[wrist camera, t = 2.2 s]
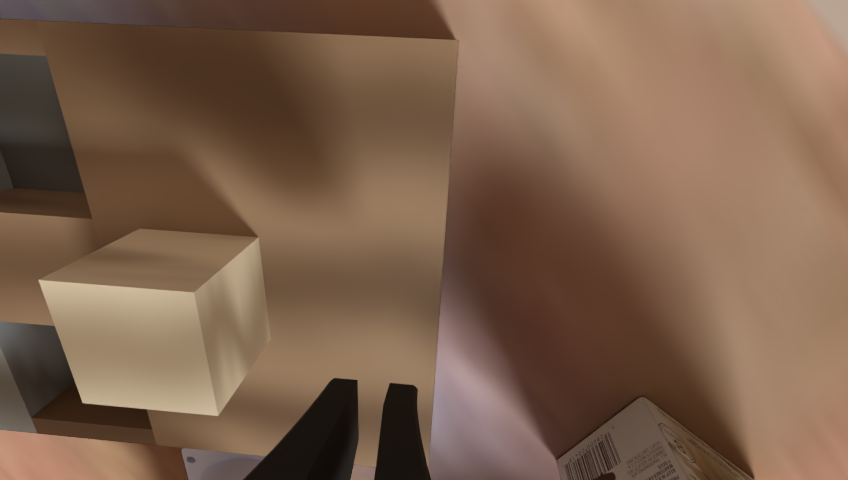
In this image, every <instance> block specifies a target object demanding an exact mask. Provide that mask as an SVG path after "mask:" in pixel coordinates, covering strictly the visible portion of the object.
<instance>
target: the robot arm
mask: <svg viewBox="0 0 848 480" xmlns="http://www.w3.org/2000/svg"><path fill="white" fill-rule="evenodd" d="M417 395H418V389H417V388H416V387H415V386H414V385H409V384H398V383H390V384H389V387H388V390H387V393H386V397H385V401H384V404H383V411H382V420H381V428H380V437H379V445H378V454H377V462H376V471H375V479H374V480H431V478H430V474H429V470H428V466H427V462H426V457H425V453H424V448H423V444H422V439H421V433H420V427H419V419H418V410H417ZM358 440H359V424H358V380H353V379H341V378H333V379H332V380H331V381H330V382H329V383H328V384H327V386H326V387H325V388H324V390H323V391H322V392H321V393H320V395H319V396H318V397H317V399H316V400H315V401H314V402H313V404H312V405H311V406H310V407H309V408H308V410H307V411H306V412H305V413H304V414H303V416H302V417H301V418H300V419H299V420H298V421H297V423H296V424H295V425H294V426H293V427H292V428H291V429H290V431H289V432H288V433H287V434H286V435H285V436H284V437H283V438H282V440H281V441H280V442H279V443H278V444H277V445H276V446H275V447H274V448H273V449H272V450H271V451H270V453H269V454H268V455H267V456H259V455H249V454H239V453H229V452H219V451H208V450H198V449H188V448H182V456H183V460H184V464H185V468H186V472H187V475H188V479H189V480H350V479H351V474H352V469H353V465H354V460H355V455H356V450H357V445H358Z"/></svg>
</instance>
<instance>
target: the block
mask: <svg viewBox="0 0 848 480" xmlns="http://www.w3.org/2000/svg"><path fill="white" fill-rule="evenodd" d="M39 283H40V286H41V289H42V292H43V294H44V297H45V300H46V303H47V305H48V308H49V311H50V314H51V317H52V319H53V322H54V325H55V328H56V330H57V333H58V336H59V339H60V341H61V344H62V347H63V350H64V353H65V355H66V358H67V361H68V364H69V366H70V369H71V372H72V375H73V378H74V380H75V383H76V386H77V389H78V391H79V394H80V397H81V400H82V403H86V404H97V405H107V406H118V407H128V408H139V409H149V410H160V411H170V412H181V413H191V414H202V415H212V416H219V414H220V413H221V411H222V410H223V408H224V407H225V406H226V404H227V403H228V401H229V400H230V398H231V397H232V395H233V394H234V392H235V391H236V389H237V388H238V387H239V385H240V384H241V382H242V381H243V379H244V378H245V376H246V375H247V373H248V372H249V370H250V369H251V368H252V366H253V365H254V363H255V362H256V360H257V359H258V357H259V356H260V354H261V353H262V352H263V350H264V349H265V347H266V346H267V344H268V343H269V341H270V340H271V337H270V329H269V320H268V312H267V304H266V295H265V287H264V279H263V270H262V262H261V253H260V245H259V237H249V236H235V235H221V234H207V233H193V232H179V231H166V230H152V229H138V230H136V231H134V232H132V233H130V234H128V235H126V236H124V237H122V238H120V239H118V240H116V241H114V242H112V243H110V244H108V245H106V246H104V247H102V248H100V249H98V250H96V251H95V252H93V253H91V254H89V255H87V256H85V257H83V258H81V259H79V260H77V261H75V262H73V263H71V264H69V265H67V266H65V267H63V268H61V269H59V270H57V271H55V272H53V273H51V274H49V275H47V276H45V277H43V278H41V279H39Z"/></svg>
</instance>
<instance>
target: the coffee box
mask: <svg viewBox="0 0 848 480" xmlns="http://www.w3.org/2000/svg"><path fill="white" fill-rule="evenodd" d="M557 464H558V469H559V473H560V478H561V480H754V479H753V478H751V477H750V476H749V475H747V474H746V473H745V472H743V471H742V470H741V469H739V468H738V467H737V466H735V465H734V464H733V463H731V462H730V461H729V460H727V459H726V458H725V457H723V456H722V455H721V454H719V453H718V452H717V451H715V450H714V449H713V448H711V447H710V446H709V445H707V444H706V443H705V442H703V441H702V440H701V439H699V438H698V437H697V436H695V435H694V434H693V433H691V432H690V431H689V430H687V429H686V428H685V427H684V426H682V425H681V424H680V423H678V422H677V421H676V420H674V419H673V418H672V417H670V416H669V415H668V414H666V413H665V412H664V411H662V410H661V409H660V408H658V407H657V406H656V405H655V404H653V403H652V402H650V401H649V400H648V399H646V398H644V397H640V398H638V399H637V400H635V401H634V402H633V403H631V404H630V405H629V406H627V407H626V408H625V409H623V410H622V411H621V412H619V413H618V414H617V415H615V416H614V417H613V418H612V419H610V420H609V421H608V422H606V423H605V424H604V425H602V426H601V427H600V428H598V429H597V430H596V431H594V432H593V433H592V434H591V435H589V436H588V437H587V438H585V439H584V440H583V441H581V442H580V443H579V444H578V445H576V446H575V447H574V448H572V449H571V450H570V451H568V452H567V453H566V454H564V455H563V456H562V457H560V458H559V459H558V460H557Z"/></svg>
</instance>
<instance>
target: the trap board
mask: <svg viewBox="0 0 848 480" xmlns="http://www.w3.org/2000/svg"><path fill="white" fill-rule="evenodd" d="M458 46H459V40H446V39H424V38H403V37H381V36H360V35H338V34H317V33H295V32H274V31H252V30H231V29H209V28H188V27H167V26H145V25H124V24H102V23H81V22H59V21H38V20H16V19H0V430H8V431H18V432H28V433H38V434H48V435H58V436H68V437H78V438H88V439H98V440H108V441H118V442H128V443H138V444H148V445H158V446H168V447H178V448H188V449H198V450H208V451H219V452H229V453H239V454H249V455H259V456H267V455H268V454H269V453H270V451H271V450H272V449H273V448H274V447H275V446H276V445H277V444H278V443H279V442H280V441H281V440H282V438H283V437H284V436H285V435H286V434H287V433H288V432H289V431H290V429H291V428H292V427H293V426H294V425H295V424H296V423H297V421H298V420H299V419H300V418H301V417H302V416H303V414H304V413H305V412H306V411H307V410H308V408H309V407H310V406H311V405H312V404H313V402H314V401H315V400H316V399H317V397H318V396H319V395H320V393H321V392H322V391H323V390H324V388H325V387H326V386H327V384H328V383H329V382H330V381H331V380H332V379H333V378H341V379H353V380H358V424H359V440H358V445H357V450H356V455H355V460H354V465H359V466H369V467H376V462H377V454H378V445H379V437H380V428H381V420H382V411H383V404H384V401H385V397H386V393H387V390H388V387H389V384H390V383H398V384H409V385H414V386H415V387H416V388H417V389H418V395H417V410H418V419H419V427H420V433H421V439H422V444H423V448H424V453H425V457H426V462H427V466H428V467H429V453H430V439H431V425H432V411H433V397H434V383H435V369H436V355H437V341H438V327H439V313H440V299H441V285H442V271H443V256H444V242H445V228H446V214H447V200H448V186H449V172H450V158H451V144H452V130H453V116H454V102H455V88H456V74H457V60H458ZM138 229H152V230H166V231H179V232H193V233H207V234H221V235H235V236H249V237H259V245H260V253H261V262H262V270H263V279H264V287H265V295H266V304H267V312H268V320H269V329H270V337H271V340H270V341H269V343H268V344H267V346H266V347H265V349H264V350H263V352H262V353H261V354H260V356H259V357H258V359H257V360H256V362H255V363H254V365H253V366H252V368H251V369H250V370H249V372H248V373H247V375H246V376H245V378H244V379H243V381H242V382H241V384H240V385H239V387H238V388H237V389H236V391H235V392H234V394H233V395H232V397H231V398H230V400H229V401H228V403H227V404H226V406H225V407H224V408H223V410H222V411H221V413H220V414H219V416H212V415H202V414H191V413H181V412H170V411H160V410H149V409H139V408H128V407H118V406H107V405H97V404H86V403H82V400H81V397H80V394H79V391H78V389H77V386H76V383H75V380H74V378H73V375H72V372H71V369H70V366H69V364H68V361H67V358H66V355H65V353H64V350H63V347H62V344H61V341H60V339H59V336H58V333H57V330H56V328H55V325H54V322H53V319H52V317H51V314H50V311H49V308H48V305H47V303H46V300H45V297H44V294H43V292H42V289H41V286H40V283H39V279H41V278H43V277H45V276H47V275H49V274H51V273H53V272H55V271H57V270H59V269H61V268H63V267H65V266H67V265H69V264H71V263H73V262H75V261H77V260H79V259H81V258H83V257H85V256H87V255H89V254H91V253H93V252H95V251H96V250H98V249H100V248H102V247H104V246H106V245H108V244H110V243H112V242H114V241H116V240H118V239H120V238H122V237H124V236H126V235H128V234H130V233H132V232H134V231H136V230H138Z"/></svg>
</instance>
